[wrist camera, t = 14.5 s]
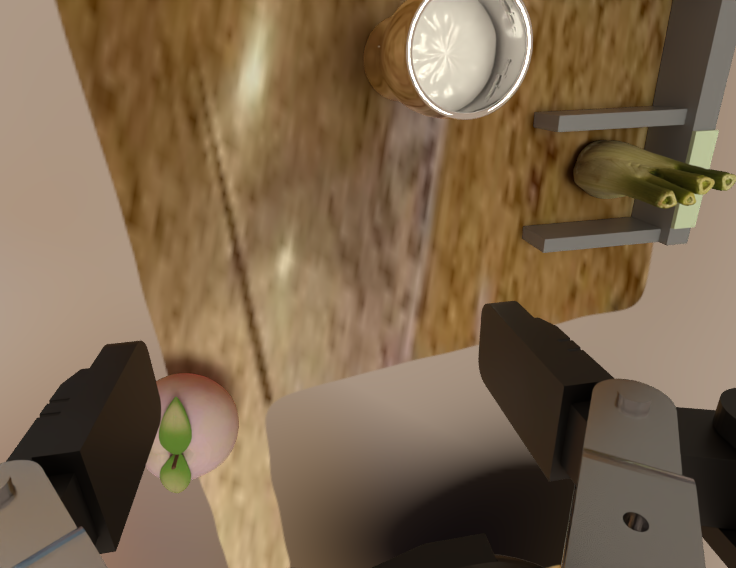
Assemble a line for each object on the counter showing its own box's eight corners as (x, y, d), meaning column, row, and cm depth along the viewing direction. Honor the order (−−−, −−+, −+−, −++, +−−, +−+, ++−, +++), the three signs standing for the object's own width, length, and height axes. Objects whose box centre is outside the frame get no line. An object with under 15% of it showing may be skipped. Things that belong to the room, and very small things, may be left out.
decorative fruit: (248, 423, 48) (240, 504, 39) (162, 435, 47) (134, 520, 38) (235, 343, 44) (223, 411, 35) (142, 353, 43) (105, 426, 34)
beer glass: (452, 17, 37) (554, -18, 23) (435, 113, 39) (517, 132, 26) (363, -1, 35) (416, -48, 22) (351, 100, 38) (391, 114, 24)
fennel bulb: (632, 144, 43) (750, 167, 32) (611, 197, 45) (716, 236, 34) (576, 131, 42) (680, 151, 31) (557, 187, 44) (648, 224, 33)
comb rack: (548, -27, 37) (590, -43, 32) (700, -29, 38) (762, -44, 33) (522, 238, 45) (551, 258, 40) (647, 227, 47) (690, 244, 42)
